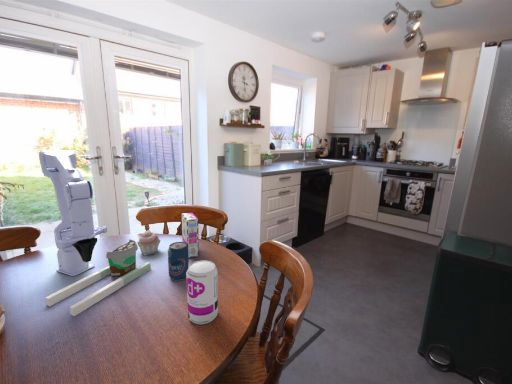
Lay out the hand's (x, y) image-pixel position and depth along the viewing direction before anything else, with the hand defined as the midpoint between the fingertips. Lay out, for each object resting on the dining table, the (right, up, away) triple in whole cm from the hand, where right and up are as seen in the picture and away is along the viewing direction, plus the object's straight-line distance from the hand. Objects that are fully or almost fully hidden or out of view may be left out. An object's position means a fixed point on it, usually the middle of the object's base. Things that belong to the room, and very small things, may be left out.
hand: (86, 260), depth 80 cm
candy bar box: (+26, -4, +29) cm, 39 cm away
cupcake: (+8, -4, +28) cm, 30 cm away
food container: (+7, -7, +12) cm, 16 cm away
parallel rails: (+4, -9, +4) cm, 10 cm away
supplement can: (+39, -13, -10) cm, 42 cm away
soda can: (+26, -8, +10) cm, 29 cm away
